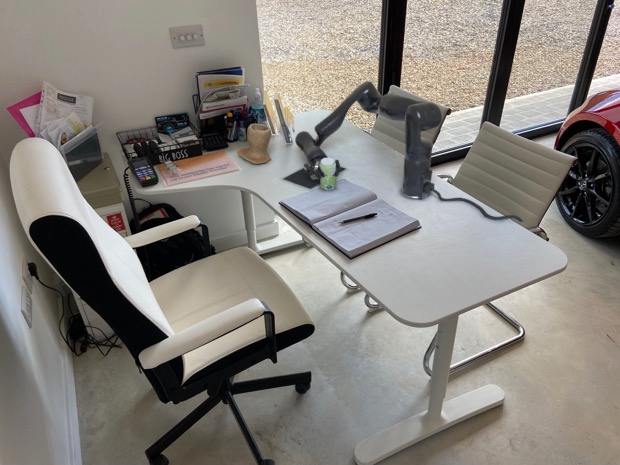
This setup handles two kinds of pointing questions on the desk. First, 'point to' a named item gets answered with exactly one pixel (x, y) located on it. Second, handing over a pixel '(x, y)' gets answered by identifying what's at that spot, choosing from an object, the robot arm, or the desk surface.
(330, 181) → the beverage can
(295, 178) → the desk mat
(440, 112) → the robot arm
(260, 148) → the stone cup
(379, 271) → the desk surface
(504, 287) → the desk surface
